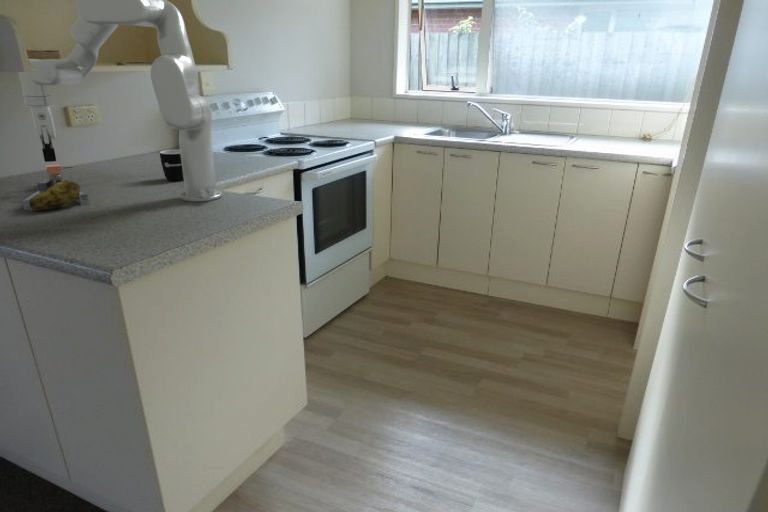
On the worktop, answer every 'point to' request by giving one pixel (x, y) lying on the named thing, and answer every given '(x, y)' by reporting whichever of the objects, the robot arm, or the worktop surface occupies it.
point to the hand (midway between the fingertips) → (50, 161)
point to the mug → (172, 165)
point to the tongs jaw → (82, 196)
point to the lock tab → (53, 169)
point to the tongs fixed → (41, 189)
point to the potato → (56, 196)
